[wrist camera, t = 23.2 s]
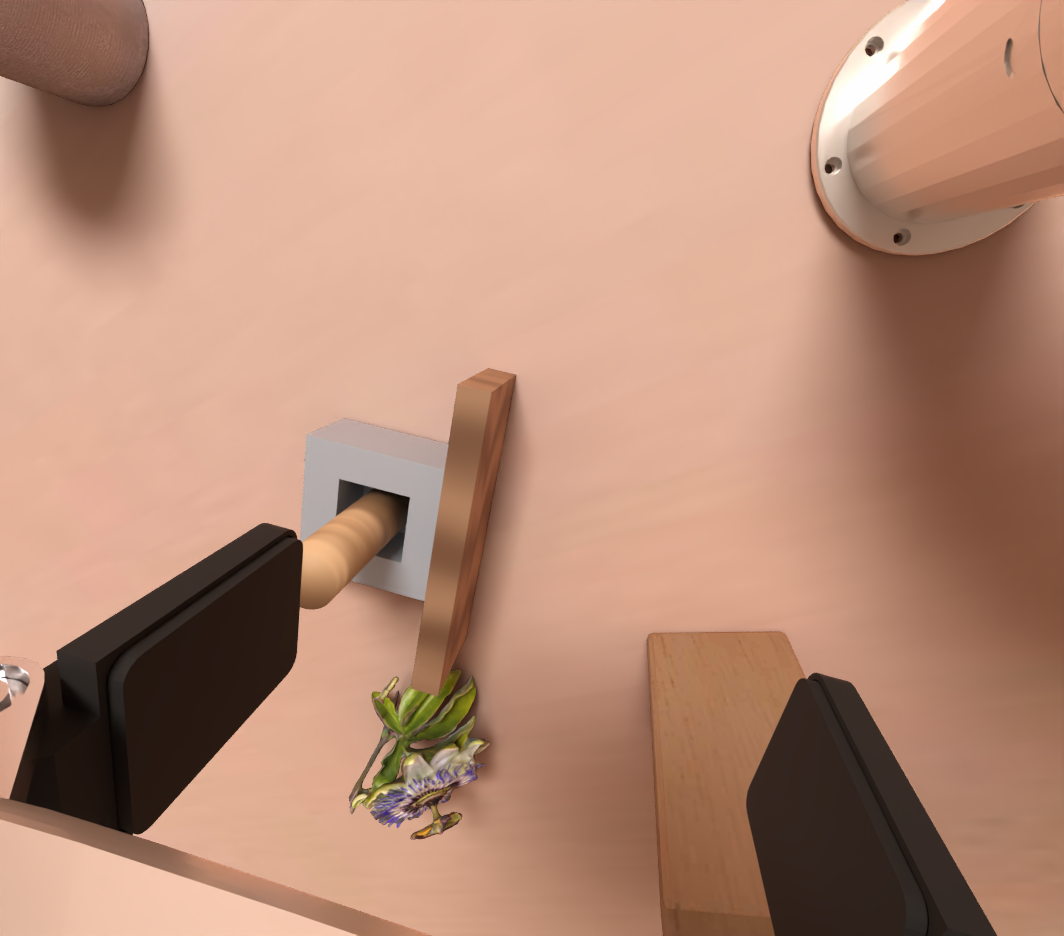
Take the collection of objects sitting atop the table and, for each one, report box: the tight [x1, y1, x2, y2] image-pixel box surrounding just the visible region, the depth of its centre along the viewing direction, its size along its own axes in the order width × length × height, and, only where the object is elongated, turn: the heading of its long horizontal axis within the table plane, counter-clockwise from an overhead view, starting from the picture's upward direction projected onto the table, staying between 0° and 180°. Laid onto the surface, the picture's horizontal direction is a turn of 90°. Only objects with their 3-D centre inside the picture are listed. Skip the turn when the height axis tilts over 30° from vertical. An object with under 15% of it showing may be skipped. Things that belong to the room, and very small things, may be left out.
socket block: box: [300, 418, 449, 601], centre depth 39 cm, size 10×10×5 cm
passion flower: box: [349, 670, 489, 840], centre depth 44 cm, size 11×11×12 cm
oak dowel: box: [300, 488, 410, 609], centre depth 35 cm, size 4×4×12 cm
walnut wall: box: [411, 368, 516, 696], centre depth 38 cm, size 22×2×7 cm, turn 168°
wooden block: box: [647, 632, 806, 936], centre depth 32 cm, size 10×10×20 cm
